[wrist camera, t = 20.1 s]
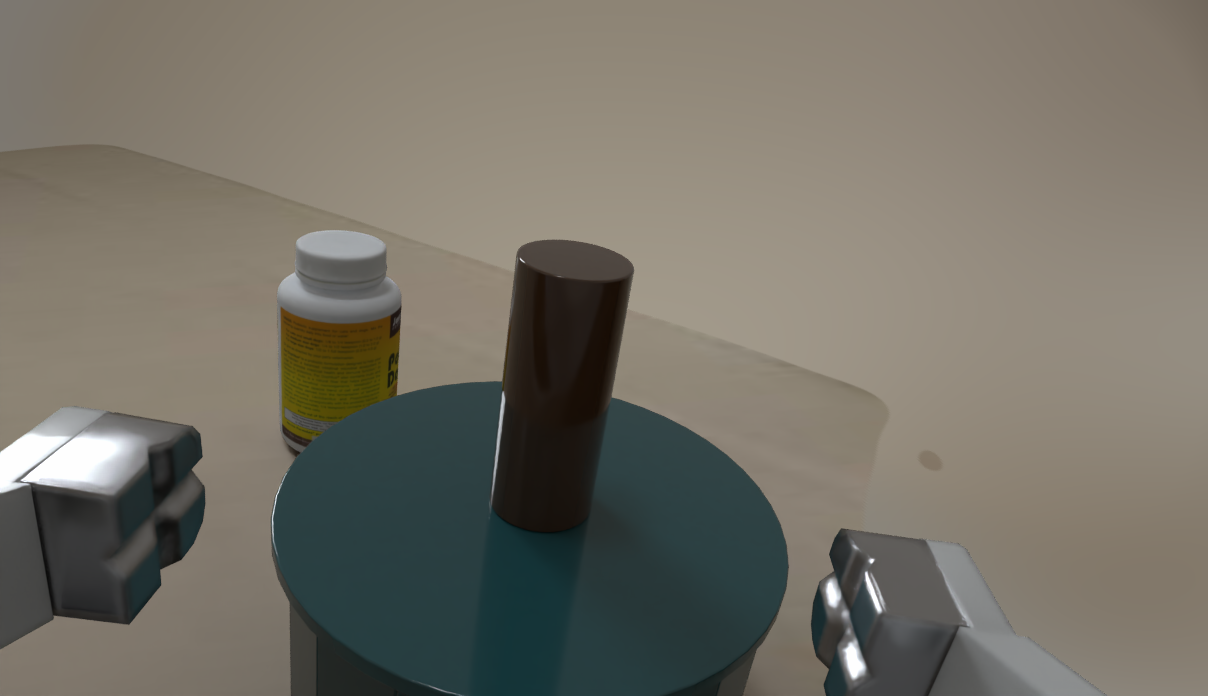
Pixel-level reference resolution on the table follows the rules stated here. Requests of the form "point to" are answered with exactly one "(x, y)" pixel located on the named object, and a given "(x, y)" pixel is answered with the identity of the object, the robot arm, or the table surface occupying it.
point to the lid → (532, 521)
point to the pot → (341, 692)
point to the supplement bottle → (335, 333)
